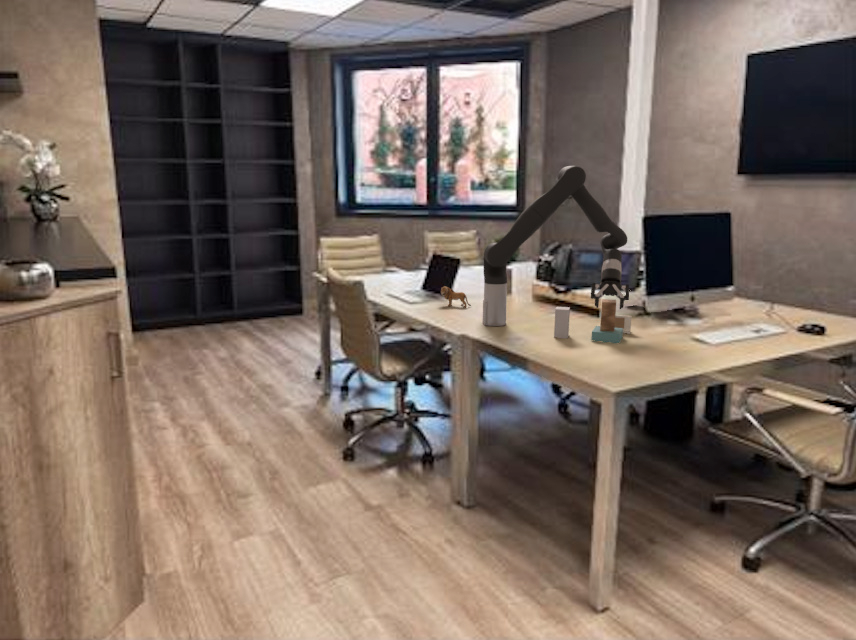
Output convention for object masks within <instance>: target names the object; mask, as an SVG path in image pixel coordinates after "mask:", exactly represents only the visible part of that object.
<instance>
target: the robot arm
mask: <svg viewBox="0 0 856 640" xmlns="http://www.w3.org/2000/svg"><path fill="white" fill-rule="evenodd" d="M557 179H558V180H557V182H556V183H555V184H554V185H553V186H552V187H551V188H550V189H549V190H548V191H546V192H545V193H543V194H542V195H541V196H539V197H538V198H536V199H535V200H533V201H532V202H531V203H530V204H529V205H528V206H527V207H526V208H525V209H524V210H523V211H522V212H521V213H520V214H519V216H518V217H517V218H516V220H515V221H514V223H513V225H512V227H511V228H510V229H509V231H508V232H507V233H506V234H505V235H504V236H503V237H502V238H501V239H500V240H498V241H497V242H491V243H489V244H488V245H486V247H485V248H484V250H483V251H484V252H483V283H484V284H483V286H484V287H483V300H482V323H483V325H484V326H490V327H502V326H505V325H507V299H508V298H507V297H508V294H507V293H508V275H507V263H508V262H509V261H510V259H511V258H512V257H513V255H514V254H515V253H516V252H517V251H518V250H519V248H520V247H521V246H522V245H523V244H524V243H526V241H528V239H530V238H531V236H533V235H534V234H535V233H536V232H537V231H538V230H540V228H541V227H542V226H544V224H545V223H546V222H547V221H548V220H549V218H551V217H552V216H553V215H554V213H556V211H557V210H558V209H559V207H560V206H561V205H562V204H563V203H564V202H565V201H566V200H568V199H569V198H570V197H572V198H573V200H574V202H576V204H577V205H578V207H580V209H581V210H582V212H583V214H584V215H585V216H586V218H587V219H588V221H589V222H590V224H591V225H592V227H593V228H594V229H595V231H596V232H597V233H607V234H605V235H603V236H602V237H601V239H600V247H601V251H602V255H603V259H602V266H601V272H600V273H601V276H600V277H601V278H600V283H599V284H598V283H596V282H592V285H591V291H590V299H594V307H595V308H597V309H598V308H599V306H600V305H599V303H600V299H601V298H603V297H604V296H611V297H614V296H615V297H616V298H617V299H618V300H619V310H622V309H624V306H625V304H624V301H625V300H629V290H630V285H629V284H628V283H627V284H625V285H622V260H623V259H622V257H623V255H622V252H621V251H620V248H623V247H624V246H626V245H627V244H628V236H627V234H626V232H625V230H623V229H622V228H621V227H620V226H618V225H617V224H616V223H615V222H614V221H612V219H611V218H610V216H609V215H608V213H607V212H606V211H605V209H604V208H603V207H602V205H601V204H600V203H599V202H598V201H597V200H596V199H595V198H594V197H593V196H592V195H591V193H590V192H589V190H588V189H587V188H586V186H585V182H586V179H587V174H586V172H585V170H584V168H582V167H581V166H578V165H568V166H564V167H562V168H561V169H560V170H559V172H558V174H557ZM598 289H599V290H598ZM596 290H598V292H597V293H596ZM621 290H623V292H625V293H626V295H625V294H624V293H623V292H622V291H621ZM623 295H625V296H623Z"/></svg>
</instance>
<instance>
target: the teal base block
mask: <svg viewBox="0 0 856 640" xmlns="http://www.w3.org/2000/svg"><path fill="white" fill-rule="evenodd" d="M623 335H624V333H623V328H614V332H610V331H600V325H596V326H594V328H593V330H592V331H591V337H590V338H591V339H590V340H595V341H594V342H596V341H603V342H602V343H607V342H611V343H610V344H617V343H619V344H620V343H621V341H622V339H623Z"/></svg>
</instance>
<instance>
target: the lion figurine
mask: <svg viewBox="0 0 856 640" xmlns="http://www.w3.org/2000/svg"><path fill="white" fill-rule="evenodd" d="M440 288H441V289H440V294H441V296H442V297H444V299H445V300H448V304H447V306H448V307H451V306H452V305H453V301H458V300H459V301H460V302H461V304H460V306H461V307H462V306H463V308H467V305H468V307H469V306H470V307H471V306H472V305H471V304H470V303H469V302H468V298H467V294H465V293H464V292H462V291H460V292H457V291H454V289H452V288H450V287H448V286H445V285H444V286H442V287H440Z"/></svg>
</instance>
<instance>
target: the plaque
mask: <svg viewBox="0 0 856 640" xmlns="http://www.w3.org/2000/svg"><path fill="white" fill-rule="evenodd" d="M631 326H632V315H624V314H623V315H621V314H615V328H623V334H625V333H627V335H631V329H632V328H631Z"/></svg>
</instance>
